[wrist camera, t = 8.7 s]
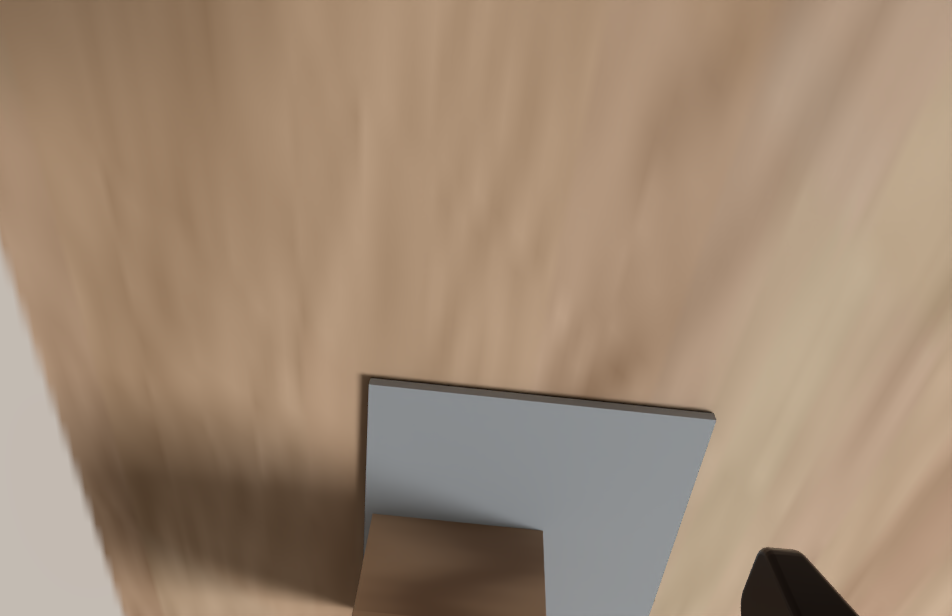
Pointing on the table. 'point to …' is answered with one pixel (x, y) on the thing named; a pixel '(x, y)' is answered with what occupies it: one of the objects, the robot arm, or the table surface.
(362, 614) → the walnut block upper
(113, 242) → the table surface
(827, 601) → the robot arm
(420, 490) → the slate mat
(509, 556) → the walnut block lower
